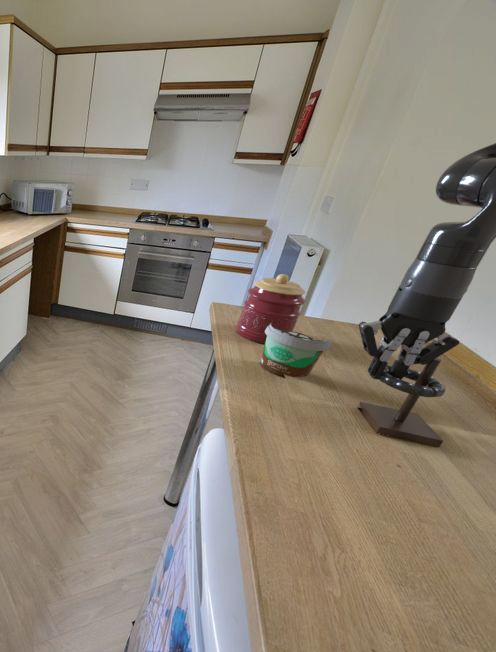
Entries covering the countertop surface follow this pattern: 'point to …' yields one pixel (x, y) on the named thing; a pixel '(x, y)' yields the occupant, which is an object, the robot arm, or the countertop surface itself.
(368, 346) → the robot arm
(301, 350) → the food container
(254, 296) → the kitchen canister
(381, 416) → the brown peg stand
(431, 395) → the dark grey ring
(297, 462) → the countertop surface
